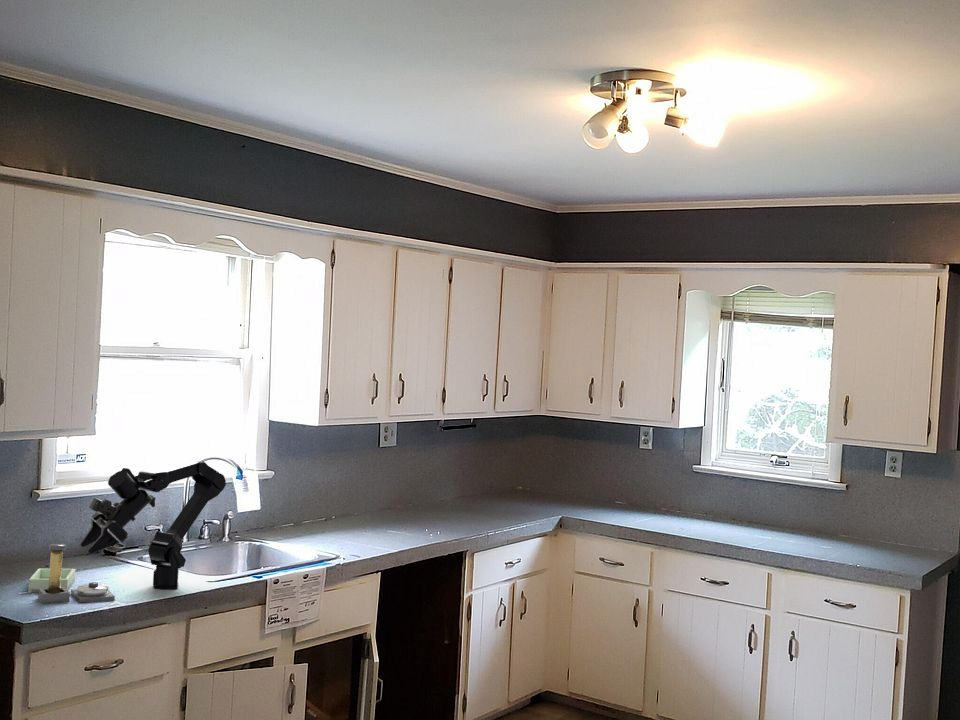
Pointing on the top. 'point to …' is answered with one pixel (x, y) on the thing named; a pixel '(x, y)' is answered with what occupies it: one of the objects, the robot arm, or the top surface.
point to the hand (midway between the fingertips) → (85, 549)
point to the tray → (42, 579)
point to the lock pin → (55, 567)
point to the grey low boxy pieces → (78, 594)
